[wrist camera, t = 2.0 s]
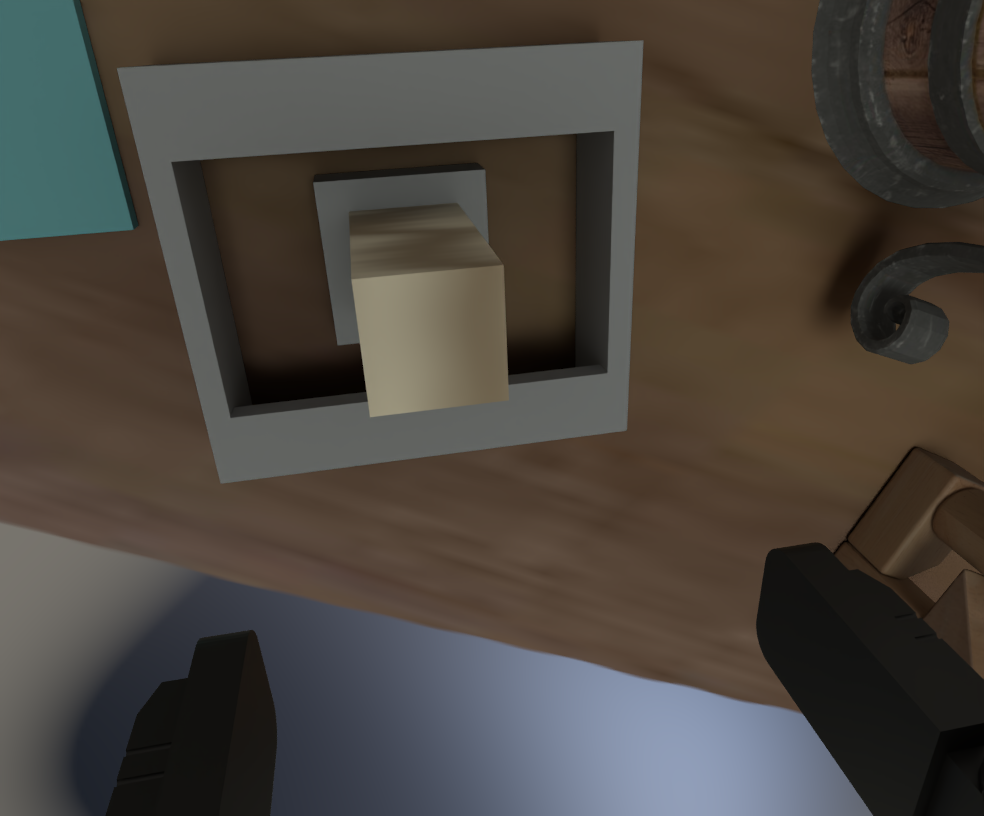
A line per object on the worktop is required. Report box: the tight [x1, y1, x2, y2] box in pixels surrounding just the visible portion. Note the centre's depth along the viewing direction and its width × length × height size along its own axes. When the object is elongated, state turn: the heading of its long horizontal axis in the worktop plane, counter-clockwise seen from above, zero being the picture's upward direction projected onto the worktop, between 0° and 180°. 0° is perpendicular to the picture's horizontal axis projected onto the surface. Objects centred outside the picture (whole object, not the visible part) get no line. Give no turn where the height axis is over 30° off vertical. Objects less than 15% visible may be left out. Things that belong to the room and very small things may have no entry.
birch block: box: [349, 203, 509, 417], centre depth 27 cm, size 4×4×10 cm
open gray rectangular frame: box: [117, 41, 643, 484], centre depth 31 cm, size 18×16×5 cm
